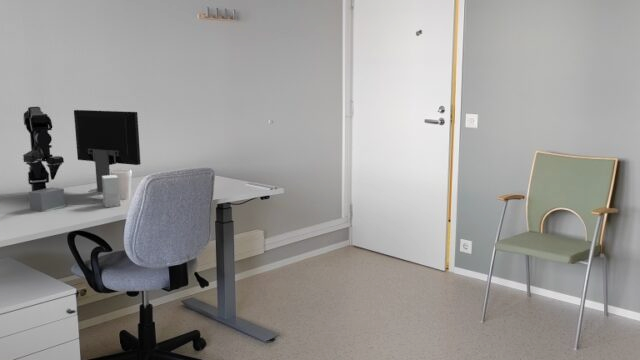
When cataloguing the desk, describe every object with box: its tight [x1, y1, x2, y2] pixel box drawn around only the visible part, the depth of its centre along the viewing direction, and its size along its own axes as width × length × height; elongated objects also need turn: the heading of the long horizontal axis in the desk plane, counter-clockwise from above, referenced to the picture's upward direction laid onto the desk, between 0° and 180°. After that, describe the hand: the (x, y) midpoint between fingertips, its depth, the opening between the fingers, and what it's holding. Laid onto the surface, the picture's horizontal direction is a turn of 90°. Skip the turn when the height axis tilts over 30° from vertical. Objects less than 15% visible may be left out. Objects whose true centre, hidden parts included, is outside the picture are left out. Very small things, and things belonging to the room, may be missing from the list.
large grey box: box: [28, 186, 66, 212], centre depth 268 cm, size 8×12×8 cm, turn 154°
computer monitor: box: [73, 109, 142, 194], centre depth 299 cm, size 41×8×40 cm, turn 63°
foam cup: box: [110, 169, 133, 201], centre depth 286 cm, size 10×9×13 cm
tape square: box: [43, 205, 66, 212], centre depth 269 cm, size 10×10×1 cm
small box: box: [102, 174, 121, 208], centre depth 272 cm, size 8×6×13 cm
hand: (45, 178), depth 266 cm, fingers open, 9 cm apart
